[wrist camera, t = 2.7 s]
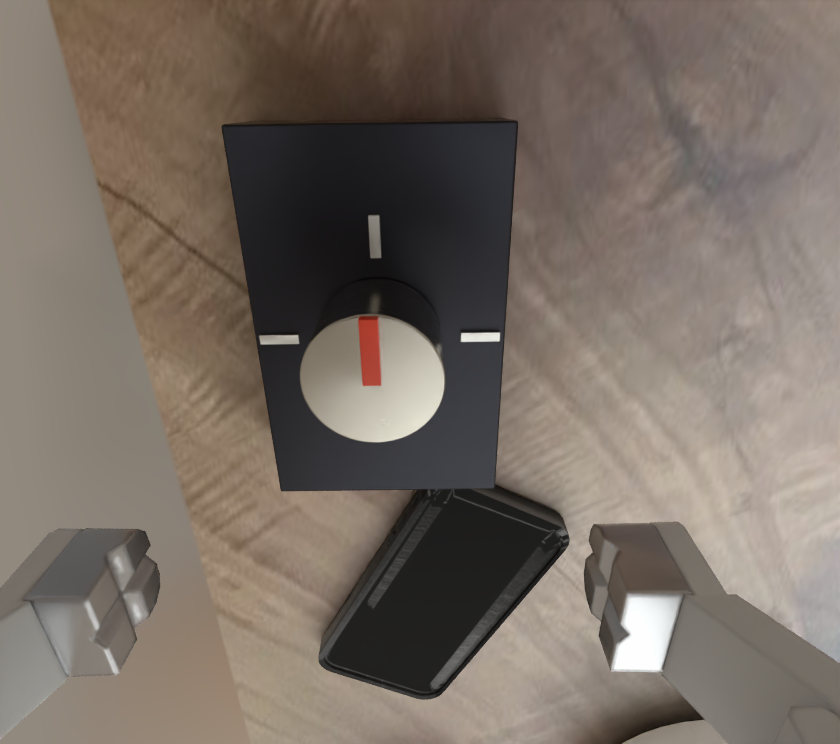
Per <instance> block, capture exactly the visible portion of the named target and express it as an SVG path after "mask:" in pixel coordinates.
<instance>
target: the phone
mask: <svg viewBox="0 0 840 744" xmlns="http://www.w3.org/2000/svg"><path fill="white" fill-rule="evenodd" d="M569 540H570V539H569V535H568V532H567V529H566V526H565V523H564V521H563V518H562V517H561V516H560V514H559V513H557V512H555V511H554V510H552V509H549V508H547V507H544V506H542V505H540V504H537V503H535V502H533V501H530V500H528V499H526V498H523V497H521V496H518V495H516V494H514V493H511V492H509V491H507V490H504V489H502V488H499V487H497V486H495V488H493V489H422V490H418V491H417V492H416V494H415V495H414V497H413V499H412V500H411V502H410V503H409V505H408V506H407V508H406V509H405V511H404V512H403V514H402V515H401V517H400V519H399V520H398V522H397V523H396V525H395V526H394V528H393V529H392V531H391V532H390V534H389V535H388V537H387V539H386V540H385V542H384V543H383V545H382V546H381V548H380V549H379V551H378V552H377V554H376V555H375V557H374V559H373V560H372V562H371V563H370V565H369V566H368V568H367V569H366V571H365V572H364V574H363V575H362V577H361V579H360V580H359V582H358V583H357V585H356V586H355V588H354V589H353V591H352V592H351V594H350V595H349V597H348V599H347V600H346V602H345V603H344V605H343V606H342V608H341V609H340V611H339V612H338V614H337V616H336V617H335V619H334V620H333V622H332V623H331V625H330V626H329V628H328V629H327V631H326V632H325V634H324V636H323V638H322V640H321V646H320V652H319V657H318V658H319V663H320V665H321V666H322V667H323V668H325V669H326V670H328V671H331V672H334V673H337V674H340V675H343V676H346V677H350V678H353V679H356V680H359V681H362V682H366V683H369V684H372V685H375V686H378V687H382V688H385V689H388V690H391V691H394V692H398V693H401V694H404V695H407V696H410V697H413V698H417V699H433V698H436V697H438V696H440V695H441V694H442V693H443V692H444V691H445V690H446V688H447V687H448V686H449V685H450V684H451V683H452V681H453V680H454V679H455V678H456V677H457V676H458V674H459V673H460V672H461V671H462V670H463V669H464V667H465V666H466V665H467V664H468V663H469V662H470V661H471V659H472V658H473V657H474V656H475V655H476V654H477V652H478V651H479V650H480V649H481V648H482V647H483V645H484V644H485V643H486V642H487V641H488V640H489V638H490V637H491V636H492V635H493V634H494V633H495V631H496V630H497V629H498V628H499V627H500V626H501V624H502V623H503V622H504V621H505V620H506V619H507V617H508V616H509V615H510V614H511V613H512V612H513V610H514V609H515V608H516V607H517V606H518V605H519V603H520V602H521V601H522V600H523V599H524V598H525V597H526V595H527V594H528V593H529V592H530V591H531V590H532V588H533V587H534V586H535V585H536V584H537V583H538V581H539V580H540V579H541V578H542V577H543V576H544V574H545V573H546V572H547V571H548V570H549V569H550V567H551V566H552V565H553V564H554V563H555V562H556V560H557V559H558V558H559V557H560V556H561V555H562V553H563V552H564V551H565V550H566V548H567V547H568V545H569Z"/></svg>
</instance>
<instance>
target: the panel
mask: <svg viewBox="0 0 840 744" xmlns="http://www.w3.org/2000/svg"><path fill="white" fill-rule="evenodd" d="M222 133H223V139H224V145H225V151H226V157H227V164H228V170H229V176H230V182H231V188H232V194H233V200H234V206H235V213H236V219H237V225H238V231H239V237H240V243H241V249H242V255H243V262H244V268H245V274H246V280H247V286H248V292H249V298H250V304H251V311H252V317H253V323H254V329H255V335H256V341H257V347H258V354H259V360H260V366H261V372H262V378H263V384H264V390H265V396H266V403H267V409H268V415H269V421H270V427H271V433H272V439H273V445H274V452H275V458H276V464H277V470H278V476H279V482H280V488H281V491H341V490H422V489H493V488H495V477H496V462H497V446H498V430H499V415H500V399H501V384H502V368H503V352H504V337H505V321H506V305H507V290H508V274H509V258H510V243H511V227H512V212H513V196H514V180H515V165H516V149H517V133H518V121H516V120H510V119H505V118H465V119H391V120H318V121H249V122H241V123H232V124H224V125H222ZM367 279H388V280H394V281H397V282H400V283H403V284H405V285H407V286H409V287H411V288H413V289H414V290H416V291H417V292H418V293H420V294H421V295H422V296H423V297H424V298H425V299H426V300H427V301H428V302H429V304H430V305H431V306H432V308H433V309H434V311H435V313H436V315H437V318H438V321H439V324H440V329H441V337H442V347H443V356H444V366H445V378H446V383H445V391H444V395H443V399H442V401H441V404H440V406H439V408H438V409H437V411H436V413H435V414H434V415H433V417H432V418H431V419H430V420H429V421H428V422H427V423H426V424H425V425H424V426H423V427H421V428H420V429H419V430H417V431H416V432H414V433H412V434H410V435H408V436H406V437H404V438H401V439H398V440H394V441H389V442H380V443H370V442H362V441H357V440H353V439H349V438H347V437H344V436H342V435H340V434H338V433H336V432H334V431H332V430H331V429H329V428H328V427H326V426H325V425H324V424H323V423H322V422H321V421H320V420H319V419H318V418H317V417H316V416H315V415H314V414H313V412H312V411H311V409H310V408H309V406H308V404H307V402H306V400H305V398H304V395H303V393H302V389H301V384H300V367H301V362H302V358H303V355H304V353H305V351H306V348H307V346H308V344H309V342H310V339H311V337H312V335H313V333H314V331H315V328H316V326H317V324H318V322H319V319H320V317H321V315H322V313H323V311H324V309H325V307H326V305H327V304H328V302H329V301H330V300H331V299H332V298H333V297H334V296H335V295H336V294H337V293H338V292H339V291H341V290H342V289H343V288H345V287H347V286H349V285H351V284H353V283H356V282H359V281H362V280H367Z"/></svg>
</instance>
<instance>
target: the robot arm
mask: <svg viewBox="0 0 840 744" xmlns="http://www.w3.org/2000/svg"><path fill="white" fill-rule="evenodd" d="M589 543H590V545H591V548H592V551H593V553H592V554H591V555H590V556H589V557H587V558H586V561H585V569H584V582H585V592H586V597H587V601H588V604H589V608H590V611H591V613H592V614H593V615H594V616H595V617H596V618H597V619H599V620H600V621H601V626H600V631H599V638H600V641H601V644H602V647H603V650H604V653H605V655H606V658H607V661H608V664H609V667H610V670H611V671H624V672H663V673H662V676H663V677H664V678H665V679H666V680H667V681H668V682H669V683H670V684H671V685H672V686H673V687H674V688H675V689H676V690H677V691H678V692H679V693H680V694H681V695H682V696H683V697H684V698H685V699H686V700H687V701H688V703H689V704H690V705H691V706H692V707H693V708H694V709H695V710H696V711H697V712H698V713H699V714H700V715H701V716H702V717H703V718H704V719H705V720H706V721H707V722H708V723H709V724H710V725H711V726H712V727H713V728H714V730H715V731H716V732H717V733H718V734H719V735H720V736H721V737H722V738H723V739H724V740H725V741H726V742H727V743H728V744H840V663H838V662H837V661H835V660H834V659H832V658H831V657H829V656H828V655H826V654H825V653H823V652H822V651H820V650H819V649H817V648H816V647H814V646H813V645H811V644H810V643H808V642H807V641H805V640H804V639H802V638H801V637H799V636H798V635H796V634H795V633H793V632H792V631H790V630H789V629H787V628H786V627H784V626H783V625H781V624H780V623H778V622H777V621H775V620H774V619H772V618H771V617H769V616H768V615H766V614H765V613H763V612H762V611H760V610H759V609H757V608H756V607H754V606H753V605H751V604H750V603H748V602H747V601H745V600H744V599H742V598H741V597H739V596H738V595H727V593H726V592H725V590H724V589H723V587H722V585H721V584H720V582H719V581H718V579H717V578H716V576H715V574H714V573H713V571H712V570H711V568H710V566H709V565H708V563H707V562H706V560H705V559H704V557H703V555H702V554H701V552H700V551H699V549H698V548H697V546H696V544H695V543H694V541H693V540H692V538H691V537H690V535H689V533H688V532H687V530H686V529H685V527H684V526H683V525H682V524H680V523H679V522H654V523H621V524H593V526H592V528H591V531H590V536H589ZM149 547H150V542H149V540H148V537H147V535H146V532H145V531H142V530H139V529H89V528H86V529H57V530H55V531H53V532H50V533H49V534H48V535H47V536H46V537H45V538H44V539H43V541H42V542H41V543H40V544H39V545H38V546H37V547H36V548H35V550H34V551H33V552H32V553H31V554H30V555H29V556H28V558H27V559H26V560H25V561H24V562H23V563H22V564H21V565H20V567H19V568H18V569H17V570H16V571H15V572H14V573H13V575H12V576H11V577H10V578H9V579H8V580H7V581H6V582H5V584H4V585H3V586H2V587H1V588H0V739H1V738H2V737H3V736H5V735H6V734H7V733H8V732H9V731H10V730H11V729H13V728H14V727H15V726H16V725H17V724H18V723H19V722H20V721H22V720H23V719H24V718H25V717H26V716H27V715H28V714H29V713H31V712H32V711H33V710H34V709H35V708H36V707H37V706H38V705H40V704H41V703H42V702H43V701H44V700H45V699H46V698H47V697H49V696H50V695H51V694H52V693H53V692H54V691H55V690H56V689H58V688H59V687H60V686H61V685H62V684H63V683H64V682H65V681H67V677H75V676H101V675H118V674H119V672H120V670H121V668H122V666H123V665H124V663H125V661H126V659H127V657H128V655H129V653H130V651H131V650H132V648H133V646H134V644H135V642H136V641H137V637H136V633H135V629H134V628H135V627H137V626H138V625H139V624H141V623H142V622H143V621H145V620H146V619H147V618H148V617H149V616H150V614H151V612H152V610H153V608H154V606H155V604H156V602H157V598H158V593H159V589H160V573H159V570H158V567H157V564H156V563H155V562H154V561H153V560H151V559H150V558H149V557H148V556H147V555H145V554H146V552H147V550H148V549H149Z"/></svg>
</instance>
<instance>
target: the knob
mask: <svg viewBox="0 0 840 744" xmlns="http://www.w3.org/2000/svg"><path fill="white" fill-rule="evenodd" d="M445 383H446V378H445V366H444V356H443V347H442V337H441V329H440V324H439V321H438V318H437V315H436V313H435V311H434V309H433V308H432V306H431V305H430V304H429V302H428V301H427V300H426V299H425V298H424V297H423V296H422V295H421V294H420V293H418V292H417V291H416V290H414V289H413V288H411V287H409V286H407V285H405V284H403V283H400V282H397V281H394V280H388V279H367V280H362V281H359V282H356V283H353V284H351V285H349V286H347V287H345V288H343V289H342V290H341V291H339V292H338V293H337V294H336V295H335V296H334V297H333V298H332V299H331V300H330V301H329V302H328V304H327V305H326V307H325V309H324V311H323V313H322V315H321V317H320V319H319V322H318V324H317V326H316V328H315V331H314V333H313V335H312V337H311V339H310V342H309V344H308V346H307V348H306V351H305V353H304V355H303V358H302V362H301V367H300V384H301V389H302V393H303V395H304V398H305V400H306V402H307V404H308V406H309V408H310V409H311V411H312V412H313V414H314V415H315V416H316V417H317V418H318V419H319V420H320V421H321V422H322V423H323V424H324V425H325V426H326V427H328V428H329V429H331V430H332V431H334V432H336V433H338V434H340V435H342V436H344V437H347V438H349V439H353V440H357V441H362V442H370V443H380V442H389V441H394V440H398V439H401V438H404V437H406V436H408V435H410V434H412V433H414V432H416V431H417V430H419V429H420V428H421V427H423V426H424V425H425V424H426V423H427V422H428V421H429V420H430V419H431V418H432V417H433V415H434V414H435V413H436V411H437V409H438V408H439V406H440V404H441V401H442V399H443V395H444V391H445Z"/></svg>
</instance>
